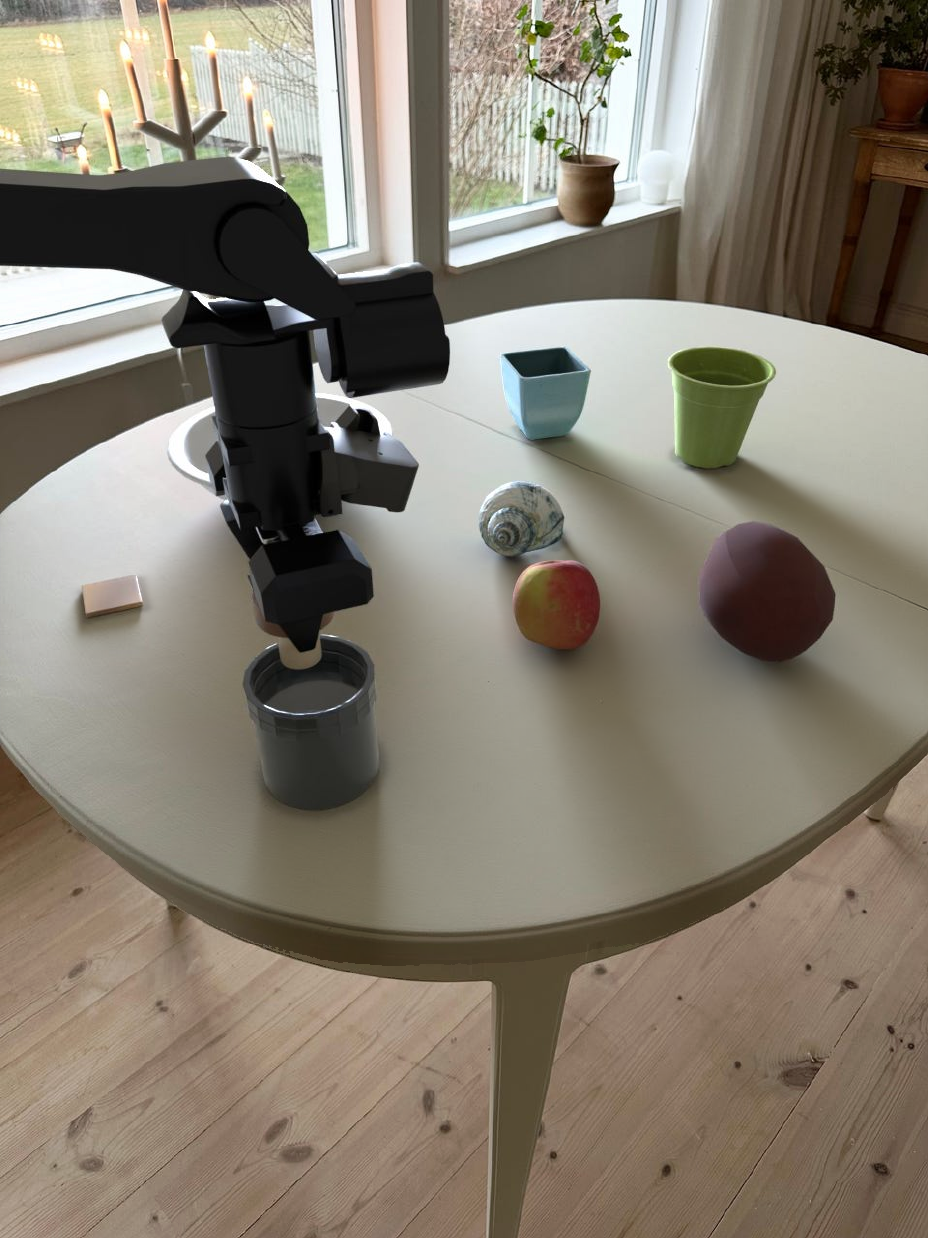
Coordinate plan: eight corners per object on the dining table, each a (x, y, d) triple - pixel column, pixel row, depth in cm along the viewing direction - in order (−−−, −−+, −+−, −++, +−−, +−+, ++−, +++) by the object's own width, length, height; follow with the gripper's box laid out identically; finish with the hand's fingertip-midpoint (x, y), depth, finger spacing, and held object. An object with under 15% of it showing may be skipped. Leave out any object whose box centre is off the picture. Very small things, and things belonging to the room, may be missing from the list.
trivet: (86, 618, 84) (85, 613, 84) (82, 589, 88) (81, 584, 87) (143, 605, 86) (142, 601, 85) (136, 578, 89) (135, 573, 89)
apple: (608, 625, 83) (617, 550, 78) (581, 679, 77) (588, 601, 72) (529, 606, 85) (533, 531, 81) (496, 656, 79) (498, 579, 75)
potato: (712, 695, 75) (734, 591, 69) (672, 602, 86) (687, 504, 80) (844, 689, 76) (878, 585, 70) (788, 597, 86) (813, 499, 80)
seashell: (573, 544, 97) (488, 585, 90) (530, 494, 99) (444, 531, 93) (597, 505, 92) (509, 546, 85) (551, 453, 94) (462, 489, 88)
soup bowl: (299, 572, 90) (292, 513, 86) (131, 506, 100) (117, 451, 97) (437, 474, 106) (435, 421, 102) (279, 427, 117) (273, 376, 113)
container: (276, 827, 64) (258, 733, 59) (249, 743, 71) (231, 652, 66) (398, 790, 67) (392, 697, 62) (361, 713, 74) (352, 623, 68)
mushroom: (272, 689, 61) (260, 620, 57) (255, 644, 64) (244, 577, 61) (348, 669, 62) (341, 602, 59) (327, 626, 66) (320, 561, 63)
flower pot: (497, 420, 118) (498, 352, 113) (562, 412, 120) (566, 345, 115) (518, 450, 111) (520, 378, 106) (586, 441, 113) (592, 370, 108)
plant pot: (666, 480, 105) (679, 386, 98) (647, 435, 115) (659, 346, 108) (769, 479, 105) (790, 385, 98) (742, 434, 115) (759, 345, 108)
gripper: (458, 451, 48) (460, 680, 57) (354, 336, 62) (369, 535, 71) (245, 491, 45) (283, 727, 54) (186, 359, 58) (224, 565, 68)
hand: (296, 626), depth 62 cm, fingers closed on mushroom, 5 cm apart
